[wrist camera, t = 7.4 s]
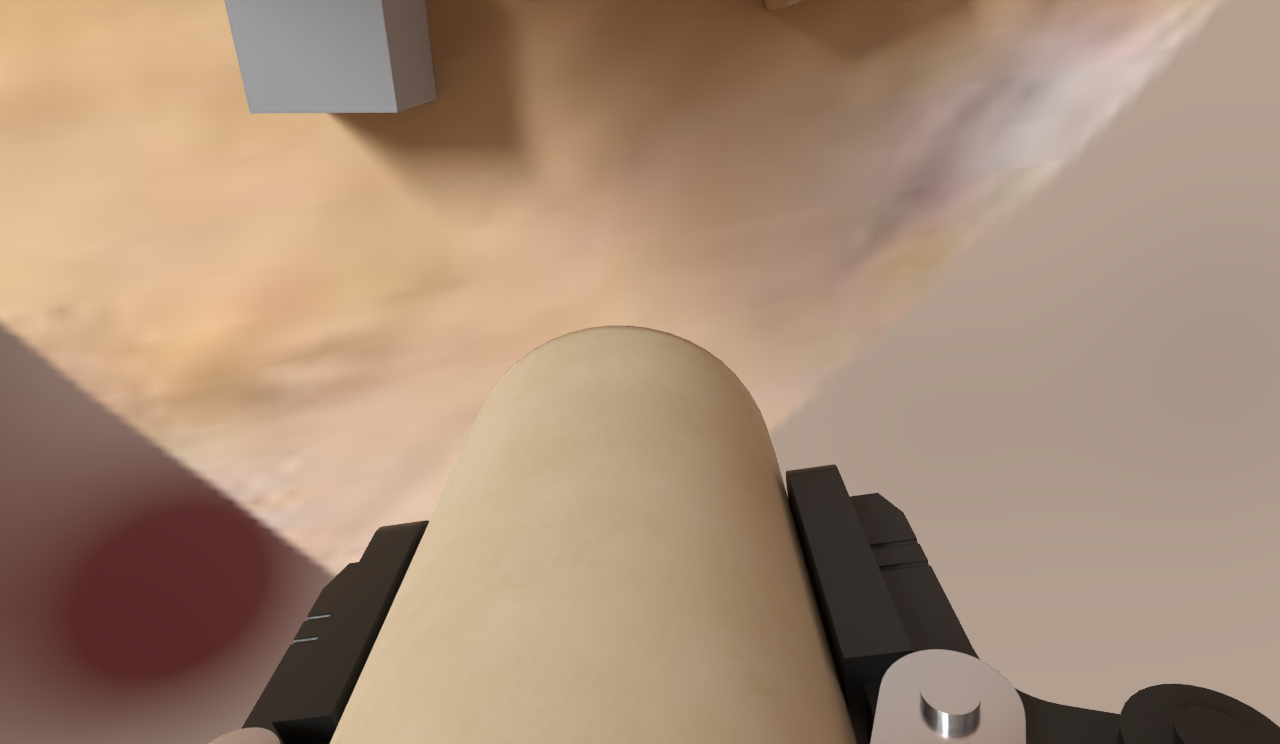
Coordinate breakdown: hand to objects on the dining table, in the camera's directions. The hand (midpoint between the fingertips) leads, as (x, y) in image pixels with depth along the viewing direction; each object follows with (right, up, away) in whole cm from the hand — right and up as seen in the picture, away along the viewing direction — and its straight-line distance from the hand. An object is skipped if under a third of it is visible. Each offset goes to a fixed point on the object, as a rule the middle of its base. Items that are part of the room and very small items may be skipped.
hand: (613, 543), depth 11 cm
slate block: (-10, +16, +16) cm, 25 cm away
